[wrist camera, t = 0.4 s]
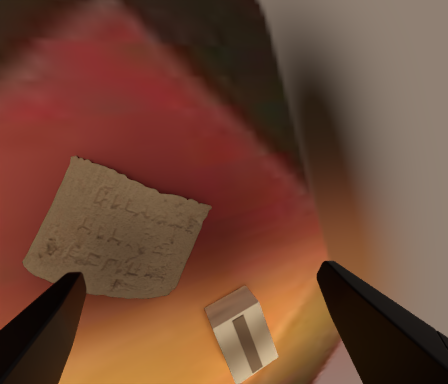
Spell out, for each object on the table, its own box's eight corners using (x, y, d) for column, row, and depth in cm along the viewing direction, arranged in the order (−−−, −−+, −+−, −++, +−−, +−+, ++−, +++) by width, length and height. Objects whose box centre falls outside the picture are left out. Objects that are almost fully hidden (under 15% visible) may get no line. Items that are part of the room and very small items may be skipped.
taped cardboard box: (262, 333, 26) (279, 358, 23) (224, 357, 25) (237, 387, 22) (244, 284, 25) (259, 302, 21) (203, 306, 24) (213, 330, 20)
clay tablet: (215, 205, 23) (223, 209, 21) (180, 296, 23) (184, 312, 20) (60, 149, 18) (46, 145, 16) (14, 263, 18) (-8, 279, 16)
